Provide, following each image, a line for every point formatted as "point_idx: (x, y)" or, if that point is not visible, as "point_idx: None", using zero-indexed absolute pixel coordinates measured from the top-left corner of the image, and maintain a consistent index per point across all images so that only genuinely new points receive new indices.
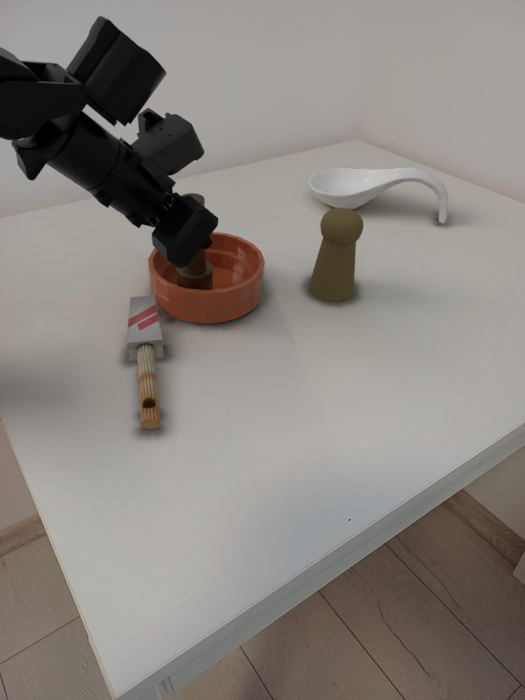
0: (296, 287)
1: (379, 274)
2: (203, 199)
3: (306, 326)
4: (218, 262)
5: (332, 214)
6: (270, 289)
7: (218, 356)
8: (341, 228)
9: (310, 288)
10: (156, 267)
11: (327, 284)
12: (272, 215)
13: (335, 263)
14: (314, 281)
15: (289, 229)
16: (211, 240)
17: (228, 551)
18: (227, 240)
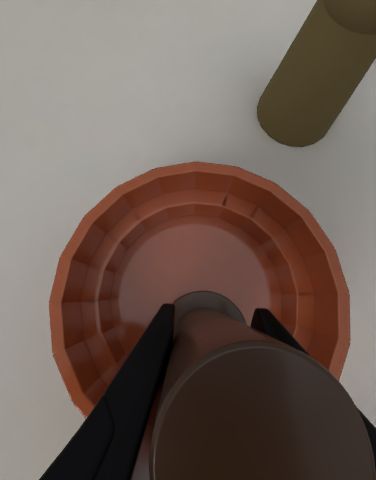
0: (262, 154)
1: (295, 32)
2: (325, 376)
3: (361, 207)
4: (139, 233)
5: None
6: None
7: (370, 384)
8: None
9: (284, 140)
10: None
11: (332, 118)
12: (39, 47)
13: (364, 72)
14: (299, 127)
15: (100, 54)
16: (274, 318)
17: None
18: (133, 195)
